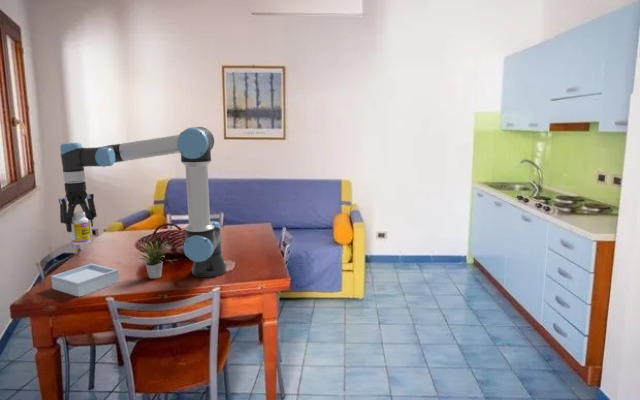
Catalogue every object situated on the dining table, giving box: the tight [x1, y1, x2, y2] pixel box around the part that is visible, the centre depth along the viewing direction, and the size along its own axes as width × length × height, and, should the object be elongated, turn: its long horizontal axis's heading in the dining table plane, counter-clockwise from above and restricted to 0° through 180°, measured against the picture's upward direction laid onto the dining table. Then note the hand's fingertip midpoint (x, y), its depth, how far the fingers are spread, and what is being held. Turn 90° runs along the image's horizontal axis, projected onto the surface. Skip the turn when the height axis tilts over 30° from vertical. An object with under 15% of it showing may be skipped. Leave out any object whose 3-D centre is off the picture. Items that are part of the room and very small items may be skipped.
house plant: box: [136, 240, 169, 279], centre depth 199 cm, size 14×14×16 cm
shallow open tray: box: [50, 263, 120, 298], centre depth 190 cm, size 18×18×6 cm
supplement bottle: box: [71, 210, 91, 246], centre depth 186 cm, size 7×7×13 cm
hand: (81, 237), depth 186 cm, fingers closed on supplement bottle, 7 cm apart
